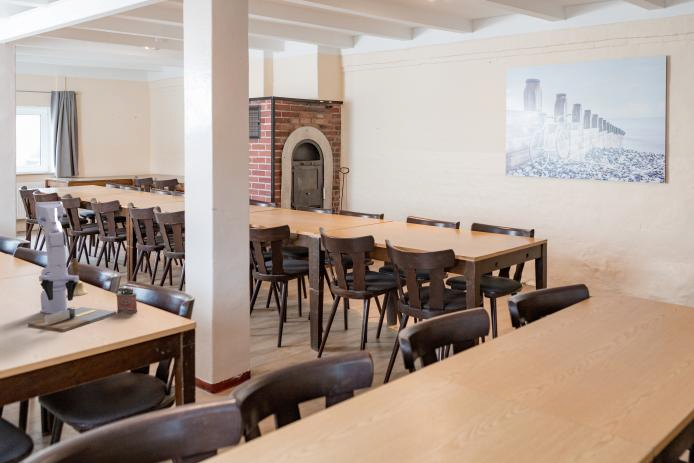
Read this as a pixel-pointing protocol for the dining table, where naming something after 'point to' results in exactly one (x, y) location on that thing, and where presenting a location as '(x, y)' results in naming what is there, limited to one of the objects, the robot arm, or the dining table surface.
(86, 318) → the door plate
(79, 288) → the hand bell
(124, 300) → the red tin can
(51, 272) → the robot arm
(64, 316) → the lock bar
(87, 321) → the plate
